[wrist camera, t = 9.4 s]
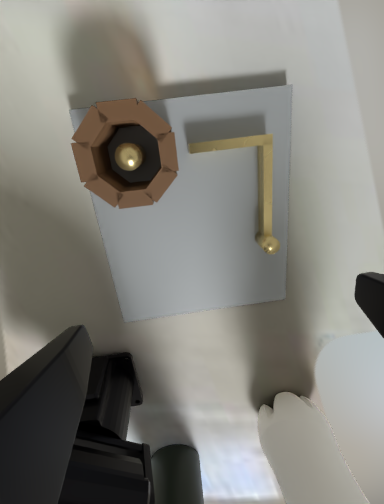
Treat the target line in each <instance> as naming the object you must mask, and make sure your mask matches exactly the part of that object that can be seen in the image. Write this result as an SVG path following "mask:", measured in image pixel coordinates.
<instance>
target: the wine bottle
mask: <svg viewBox="0 0 384 504" xmlns="http://www.w3.org/2000/svg"><path fill="white" fill-rule="evenodd" d="M151 465H152V475H153V484H154V494H155V504H204V500H203V490H202V480H201V471H200V461H199V455H198V453H197V452H196V451H195V450H194V449H193V448H191V447H189V446H185V445H170V446H166V447H164V448H161V449H160V450H158V451H157V452H156V453H155V454H154V455H153V456H152V458H151Z"/></svg>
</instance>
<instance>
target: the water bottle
mask: <svg viewBox="0 0 384 504" xmlns="http://www.w3.org/2000/svg"><path fill="white" fill-rule="evenodd" d="M273 409H274V410H273ZM273 409H272V408H270V407H269V406H267V405H265V404H264V405H262V406H261V408H260V410H259V414H258V434H259V439H260V443H261V447H262V450H263V452H264V454H265V456H266V458H267V460H268V462H269V464H270V466H271V468H272V470H273V472H274V474H275V476H276V479H277V481H278V483H279V486H280V488H281V491H282V494H283V497H284V499H285V502H286V504H370V503H369V501H368V499H367V498H366V496H365V495H364V493H363V491H362V490H361V488H360V487H359V485H358V483H357V481H356V480H355V478H354V476H353V474H352V472H351V471H350V469H349V467H348V465H347V463H346V461H345V459H344V457H343V454H342V452H341V450H340V448H339V446H338V443H337V441H336V438H335V436H334V433H333V430H332V427H331V425H330V424H329V422H328V420H327V419H326V417H325V416H324V414H323V413H322V412H321V410H320V409H319V408H318V407H317V406H316V405H315V404H314V403H313V402H312V401H311V400H310V399H308V398H306V397H304V396H300V397H298V396H296V395H295V394H293V393H291V392H281V393H278V394H277V395H276V396H275V399H274V406H273Z"/></svg>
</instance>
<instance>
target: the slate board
mask: <svg viewBox="0 0 384 504" xmlns="http://www.w3.org/2000/svg"><path fill="white" fill-rule="evenodd" d="M143 102H144V103H145V104H146V105H147V106H148V107H149V108H150V109H152V110H153V111H154V112H155V113H156V114H157V115H158V116H160V117H161V118H162V119H163V120H164V121H165V122H166V123H167V124H169V125H170V126H171V127H172V130H171V132H174V133H175V142H176V150H177V159H178V167H179V171H176V172H177V174H178V176H177V177H176V178H175V179H174V181H173V182H172V183H171V185H170V186H169V187H168V189H167V190H166V191H165V193H164V194H163V195H162V197H161V198H160V199H159V201H158V202H157V203H156V202H155V201H154V204H153V205H149V206H140V207H132V208H124V209H119V206H118V205H117V206H116V207H115V208H114V207H113V206H111V205H110V204H108V203H107V202H106V201H104V200H103V199H101V198H100V197H99V196H97V195H96V194H94V193H93V192H91V191H90V193H91V197H92V201H93V205H94V209H95V213H96V216H97V220H98V224H99V228H100V232H101V236H102V239H103V243H104V247H105V251H106V255H107V259H108V263H109V266H110V270H111V274H112V278H113V282H114V286H115V289H116V293H117V297H118V301H119V305H120V309H121V313H122V316H123V320H124V323H125V322H132V321H139V320H146V319H153V318H160V317H166V316H173V315H180V314H187V313H194V312H201V311H208V310H215V309H221V308H228V307H235V306H242V305H249V304H256V303H263V302H270V301H276V300H283V299H285V297H286V266H287V236H288V205H289V175H290V144H291V114H292V85H283V86H275V87H266V88H257V89H248V90H239V91H231V92H222V93H213V94H204V95H196V96H187V97H178V98H169V99H160V100H152V101H143ZM89 109H90V108H81V109H72V110H69V113H70V116H71V120H72V124H73V128H74V132H76V130H77V129H78V127H79V125H80V124H81V122H82V121H83V119H84V117H85V116H86V114H87V112H88V111H89ZM265 134H273V173H272V236H274V237H275V238H276V239H277V240H278V241H279V242H280V249H279V250H278V252H276V253H275V254H267V253H266V252H265V251H264V250H263V249H262V248H261V247H260V246H259V245H258V244H257V243H256V241H255V235H256V234H257V232H259V229H258V150H257V146H251V147H243V148H235V149H227V150H218V151H210V152H202V153H194V154H189V152H188V144H190V143H198V142H207V141H215V140H223V139H232V138H240V137H248V136H256V135H265ZM123 143H134V144H139V145H141V146H142V147H143V148H144V149H145V151H146V160H145V162H144V163H143V164H142V165H140V166H139V167H138V168H136V169H134V170H131V171H127V170H124V169H122V168H120V167H119V166H118V164H117V163H116V160H115V151H116V149H117V147H118V146H119V145H121V144H123ZM107 147H108V152H109V157H110V161H111V166H112V169H113V170H114V171H115V172H117V173H118V174H119V175H120V176H122V177H123V178H124V179H126V180H127V181H128V182H130V183H132V182H140V181H149V180H151V179H152V178H153V176H154V175H155V173H156V172H157V171H158V169H159V168H160V167H161V161H160V154H159V147H158V140H157V138H155V137H154V136H153V135H152V134H151V133H149V132H148V131H147V130H146V129H145V128H144V127H142V126H133V127H124V128H119V130H118V131H117V133H116V134H115V136H114V137H113V139H112V140H111V142H110V143H109V145H108V146H107Z"/></svg>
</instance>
